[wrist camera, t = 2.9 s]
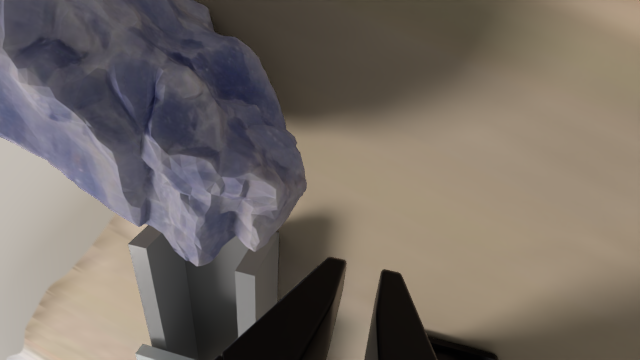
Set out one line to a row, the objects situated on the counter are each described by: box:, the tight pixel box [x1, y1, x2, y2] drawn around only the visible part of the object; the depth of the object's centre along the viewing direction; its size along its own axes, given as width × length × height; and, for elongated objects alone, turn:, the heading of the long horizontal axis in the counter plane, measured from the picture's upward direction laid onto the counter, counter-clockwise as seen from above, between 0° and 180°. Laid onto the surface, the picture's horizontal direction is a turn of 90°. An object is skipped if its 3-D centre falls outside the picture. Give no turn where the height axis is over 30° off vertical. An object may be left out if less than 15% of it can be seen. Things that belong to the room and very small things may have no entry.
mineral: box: [0, 0, 307, 266], centre depth 16 cm, size 14×10×10 cm, turn 60°
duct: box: [128, 225, 279, 360], centre depth 28 cm, size 8×18×4 cm, turn 176°
